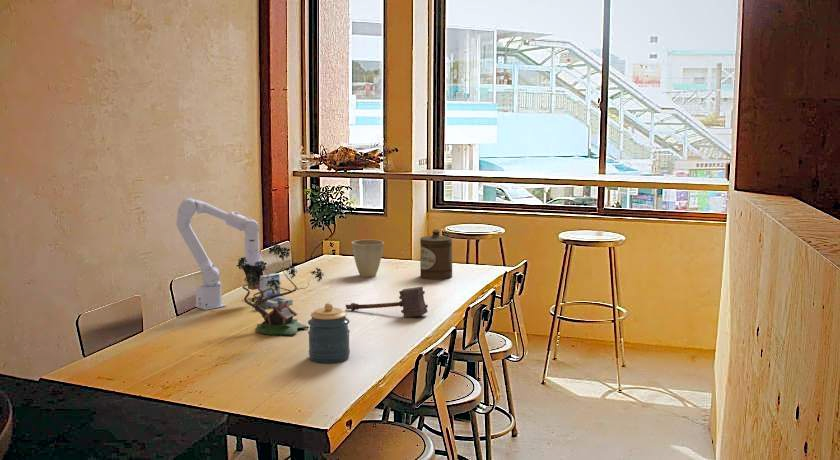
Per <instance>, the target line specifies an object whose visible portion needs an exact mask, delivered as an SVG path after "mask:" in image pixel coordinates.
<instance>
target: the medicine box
mask: <svg viewBox="0 0 840 460" xmlns="http://www.w3.org/2000/svg"><path fill="white" fill-rule="evenodd" d="M267 274H268V275H269V274H270V275H269V276H267ZM267 274H263V275H262V274H261V276H260V280H261V279H262V280H261V281H260V290H262V291H264V290H266V289H268V288H270V286H269V285H271V284H272V282H271V284H269V283H268V284H267V281H271V279H272V278H273V279H274V278H275V279H276V280H278V281H279V283H281V280H280V279H281V278H280V274H279V273H273V272H272V273H267ZM266 276H267V277H266ZM265 277H266V278H265ZM263 278H264V279H263ZM275 279H274V280H275ZM275 283H277V282H275ZM266 285H268V286H266ZM274 286H275V285H274ZM274 286H272V288H273V287H274ZM277 286H278V287H280V288H281V284H279V285H278V284H277ZM275 288H276V287H274V288H273V290H274V289H275ZM280 288H277V289H278V290H276V289H275V291H274V294H275V295H277V294H281V289H280ZM269 290H270V291H269ZM269 290H267V291H265V292H263V294H264V295H263V298H265V297H266V298H267V297H269V296H273V293H272V290H271V289H269ZM258 291H259V290H258ZM259 292H260V291H259ZM259 292H258V293H259ZM258 295H259V297H261V295H262V293H260V294H258Z"/></svg>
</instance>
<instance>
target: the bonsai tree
mask: <svg viewBox="0 0 840 460" xmlns="http://www.w3.org/2000/svg"><path fill="white" fill-rule="evenodd" d="M268 250H269V251H268V254H271V253H273V255H275V259H278V258H277V257H279V258H280V259H281V260H282V261H283V262H285V258H286V259H288V257H290V252H289V251H291V248H288V247H281V245H280V244H278V243H271V244H270V247H268ZM244 262H245V263H244ZM246 262H247V260H246V258H245V256H244V257H239V259H238V260H237V264H236V265H235V266H236V267H238V269H239V270H242V271H244V269H245V267H246V266H247V264H246ZM260 262H261V263H260ZM260 262H258V261H257V263H255V268H256V267H257V265H258V268H256V270H257V271H258V272H259V273H260V269H261V270H263V269H264V270H263V271H262V272H264V271H265V272H267V271H269V269H267V268H266V265H267V264H268V263H267V262H265V261H263V260H262V261H260ZM277 262H278V265H279V267H280V270H281V271H282V272H283V275H284V276H285V277H286V279H288V280H289V282H290V283H291V284H292V285H293V286H294V289H292V290H291V289H287V288H284V287H281V285H282V282H280V283H279V281H278V280H276V279H275V278H274V279H275V280H274V279H273V278H272V279H271V281H267V284H268V283H269V284H271V282H272V284H271V285H269V286H270V288H268V289H266V290H264V291H262V290H260V289H259V288H258V287H257V286H256V284H257V283H258V282H259V281H261V280H262V279H261V280H259V281H257V279H258V278H257V277H256V276H257V275H256V272H253V273H252V271H251V270H249V272H250V273H252V274H250V273H248V274H246V275H245V277H244V282H245V283H246V284H244V285H242V289H244V290H245V291H247V293H246V294H245V297H244V299H243V300H244V302H245V304H247V305H249V306H251V307H252V309H254V311H255V310H256V311H257V312H258V313H259V314H260V315H261V317H262V318H263V320H264V321H263V322H261V323H257V324H256V328H255V329H256V331H257V333H259V334H261V335H267V336H287V337H289V336H290V337H293V336H295V334H297V333H298V330H301V329H302V330H303V329H310V326H308V325H306V324H302V323H300V322H298V319H297V318H296V319H295V318H294V317H296V316H297V315H298V313H297V312H296V311H295V310H293V309H292V308H291V307H290V306H289V305H287V303H288V301H287V300H286V302H285V303H284V304H283V305H282V303H283V301H277V303H278V307H276V306H275V307H274V306H273V308H272V310H271V311H270V312H268V311H266V310H264V309H262V308H261V307H259V304H262V303H263V304H264V302H265V301H267V300H270V299H273V298H276V297H279V296H281V297H284V296H285V295H289V294H292V293H294V292H296V291H298V290H303V289H307V288H308V287H309V285H310V283H307V284H308V285H307V287H301V288H297V287H298V286H297V285H296V284H295V283H294V282H292V279H294V278H295V277H296V274H297V273H298V271H297V268H296V266H294V265H292V264H287V265H288V266H289V267H285V268H284V267H281V264H280V263H279V261H277ZM287 262H289V260H288V261H286V263H287ZM293 262H295V263H296V262H299V261H298V260H297V261H296V260H295V261H294V260H293ZM263 263H264V264H263ZM245 264H246V265H245ZM256 264H257V265H256ZM259 264H262V265H259ZM284 264H285V263H283V264H282V266H284ZM250 265H251V264H250ZM263 265H265V266H263ZM242 267H244V268H242ZM262 268H263V269H262ZM246 269H247V271H248V267H246ZM246 269H245V271H246ZM285 272H287V274H286V273H285ZM310 273H311V275H312V276H313V275H314V279H316V281H317V282H318V283H319V282H320V281H321V280H323V277H324V275H325V274H324V272H323V271H322V269H320V268H319V267H315V270H312V271H310ZM254 274H255V275H254ZM268 274H269V275H270V274H271V273H266V275H267V276H269V275H268ZM248 275H249V276H248ZM251 275H252V277H251ZM267 276H266V277H267ZM288 276H290V278H289V277H288ZM254 277H255V279H253V278H254ZM266 277H265V278H266ZM256 278H257V279H256ZM251 279H252V281H251ZM263 279H264V278H263ZM249 280H250V281H249ZM253 280H254V281H253ZM311 280H313V278H312V279H310V281H311ZM255 281H257V282H255ZM248 282H249V283H251V282H253V283H251V284H248ZM254 282H255V283H254ZM275 282H277V283H275ZM252 284H255V287H256V288H257V289H256V290H258V291H260V292H256V293H254V294H253V295H252V299H251V300H250V301H249V300H248V297H249V296H250V294H251V291H250V289H248V285H252ZM277 284H278V285H279V284H280V287H278V286H277ZM274 285H275V286H274ZM266 286H268V285H266ZM272 286H274V287H276V288H275V289H276V290H278V289H277V288H280V290H284V291H286V292H282V293H281V292H280V294H277V295H275V294H274V291H275V289H274V290H273V288H274V287H273V288H272ZM269 289H271V290H272V293H273V296H269V297H263V295H264V294H263V292H265V291H267V290H269ZM269 291H270V290H269ZM260 293H262V295H261V296H259V297H258V296H257V297H256V295H259V294H260ZM262 298H264V299H262Z"/></svg>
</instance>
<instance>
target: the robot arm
mask: <svg viewBox="0 0 840 460" xmlns="http://www.w3.org/2000/svg"><path fill="white" fill-rule="evenodd" d="M196 212H197V213H196ZM195 213H196V214H197V215H198V214H199V215H200V214H208V215H209V216H213V217H215V218H218V219H220V220H223V221H224V223H225V225H227V226H229V227H231V228H234V229H236V230H239V231H243V232H244V257H245V258H246V260H247V262H246V264H247V266H246V267H248V271H247V269H246V267H245V269H246V271H245V269H244V270H243V272H244V274H245V275H244V276H246V274H248V273H250V272H249V270H251V271H252V273H253V272H256V275H257V276H256V277H257V278H258V279H257V278H256V279H257V281H259V280H260V276H262V274H263V272H264V271H265V270H264V269H263V268H262V269H263V270H264V271H263V270H261V269H260V273H259V272H258V271H257V270H256V268H258V265H257V264H256V265H257V267H256V268H255V263H257V261H258V262H260V261H262V262H263V260H262V259H261V254H260V238H259V237H260V234H259V231H260V226H259V223H258V222H257V221H256V219H254V218H250V216H244V215H242V214H240V213H239V212H238V211H237V210H236V211H229V212H227V211H224V210H223V209H220V208H219V207H216V206H214V205H212V204H210V203H208V202H206V201H203V200H200V199H196V198H193V197H189V196H188V197H185V198H183V200H182V201H181V202H180V204H179V205H178V208H177V214H176V215H177V216H176V223H175V224H176V228H177V229H178V232H179V233H180V235H181V237H182V238H183V241H184V242H185V244H186V246H187V248H188V249H189V251H190V252H191V254H192V256H193V258H194V259H195V262H196V263H197V264H198V268H199V271H200V273H201V275H202V280H203V281H202V283H201V285H200V286H198V287H197V286H196V289H195V307H196V308H198V309H201V310H203V311H204V310H205V311H208V310H212V309H218V308H224V307H227V304H224V303H222V302H223V301H222V282H221V281H220V276H221V272H220V269H219V268H218V267H217V266H215V265H214V264H213V262H212V260H211V259H210V258H209V256H208V254H207V253H206V250H205V249H204V247H203V245H202V243H201V242H200V240H199V238H198V237H197V234H196V232H195V231H194V229H193V228H192V226H191V221H192V218H193V216H194V215H195ZM244 263H245V262H244ZM260 263H261V262H260ZM264 263H265V262H264ZM264 263H263V264H264ZM246 264H244V265H246ZM250 264H251V265H250ZM259 265H262V264H259ZM263 266H265V267H266V265H263ZM241 268H244V267H241ZM252 273H251V274H252ZM254 275H255V274H254ZM253 279H255V277H254V278H253ZM253 281H254V280H253ZM257 281H255V282H257ZM255 282H254V283H255ZM258 284H259V282H258V283H257V284H256V285H258ZM253 285H255V284H253Z"/></svg>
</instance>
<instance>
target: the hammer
mask: <svg viewBox="0 0 840 460" xmlns="http://www.w3.org/2000/svg"><path fill="white" fill-rule="evenodd" d="M423 287H424V286H417V287H411V288H410V287H409V288H402V289H401V290H399V291H398V292H399V296H398V298H399V300H400V301H398V302H396V301H395V302H385V303H371V304H369V303H368V304H358V303H355V302H352V303H350V304H345V308H346V310H351V311H357V310H362V309H379V308H381V309H382V308H391V307H393V308H394V307H400V308H402V310H401V312H400V313H401V314H403V318H411V317H421V316H423V315H425V314H427V313H428V306H429V305H428V304H426V302H425V299H424V298H425V297H424V295H425V294H426V293H425V290H423V289H424V288H423Z"/></svg>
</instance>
